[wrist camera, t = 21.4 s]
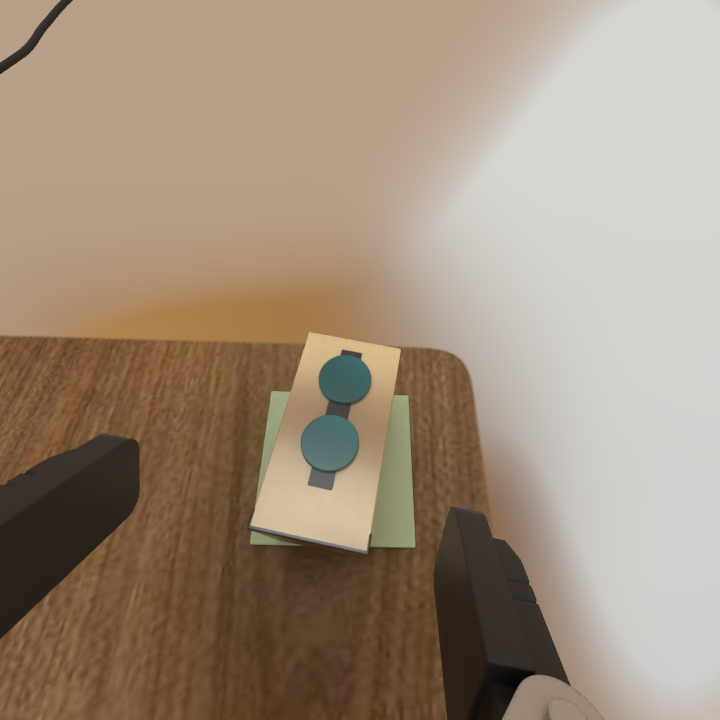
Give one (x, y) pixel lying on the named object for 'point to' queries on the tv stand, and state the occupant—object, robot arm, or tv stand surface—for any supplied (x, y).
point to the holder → (330, 448)
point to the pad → (394, 485)
